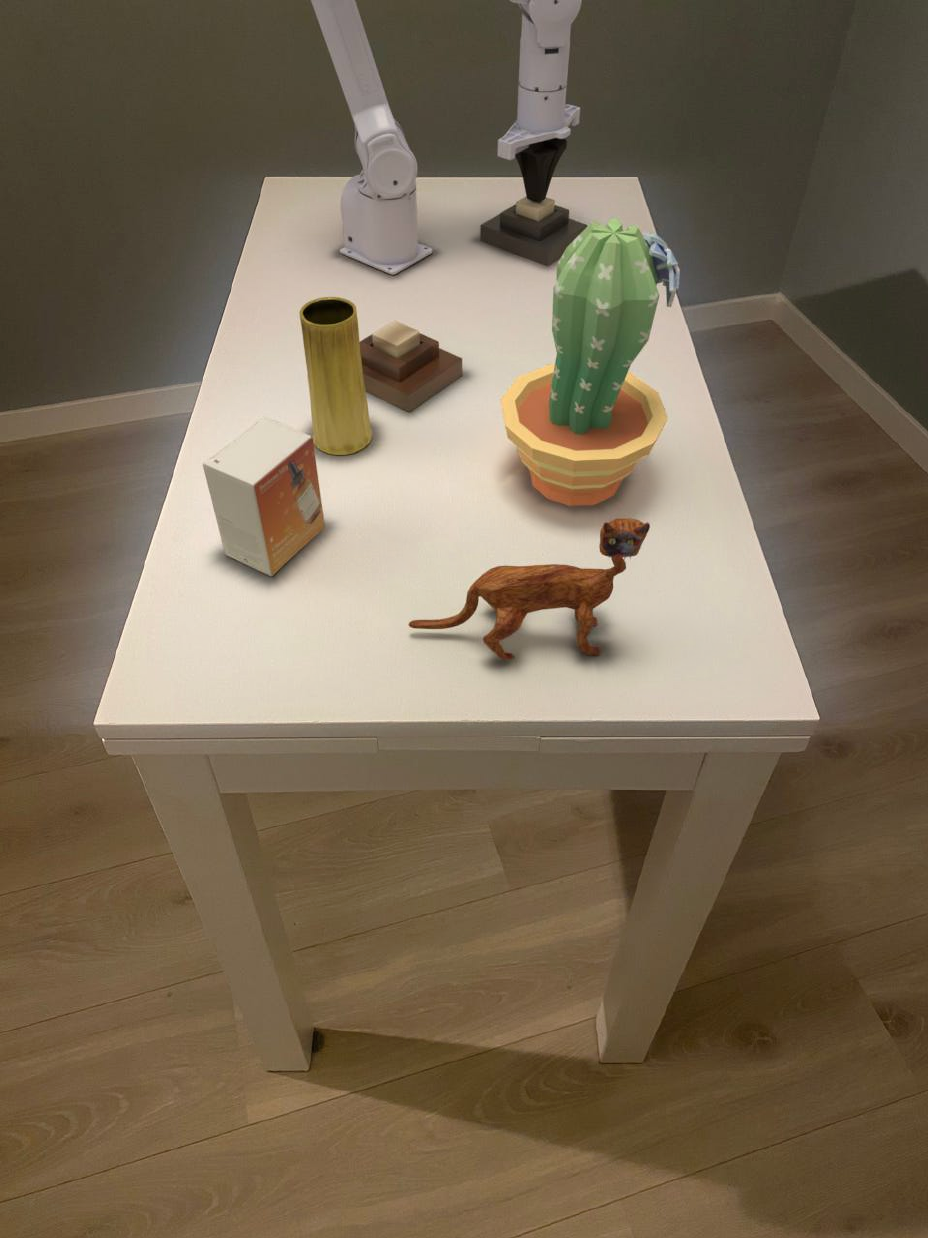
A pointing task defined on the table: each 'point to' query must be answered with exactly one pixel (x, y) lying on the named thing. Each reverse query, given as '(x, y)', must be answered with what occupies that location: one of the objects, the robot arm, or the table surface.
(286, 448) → the small box
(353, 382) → the vase
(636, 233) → the potted cactus
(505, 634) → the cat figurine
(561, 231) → the block
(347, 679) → the table surface
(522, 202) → the back key
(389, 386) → the front block
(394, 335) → the front key
